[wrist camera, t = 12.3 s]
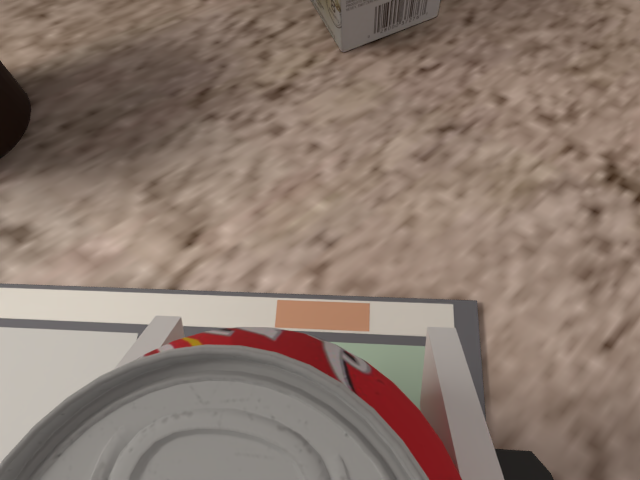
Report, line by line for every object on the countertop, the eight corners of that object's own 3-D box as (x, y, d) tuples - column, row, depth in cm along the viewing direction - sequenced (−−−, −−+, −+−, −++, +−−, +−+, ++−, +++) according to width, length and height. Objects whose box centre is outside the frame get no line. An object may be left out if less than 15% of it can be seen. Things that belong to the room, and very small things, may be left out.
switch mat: (-82, 281, 21) (-87, 280, 21) (475, 301, 19) (477, 300, 19) (-231, 652, 16) (-240, 655, 16) (508, 742, 14) (511, 748, 14)
